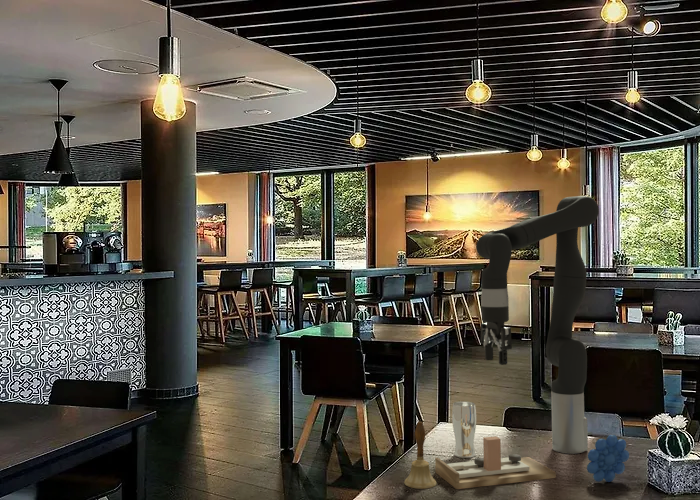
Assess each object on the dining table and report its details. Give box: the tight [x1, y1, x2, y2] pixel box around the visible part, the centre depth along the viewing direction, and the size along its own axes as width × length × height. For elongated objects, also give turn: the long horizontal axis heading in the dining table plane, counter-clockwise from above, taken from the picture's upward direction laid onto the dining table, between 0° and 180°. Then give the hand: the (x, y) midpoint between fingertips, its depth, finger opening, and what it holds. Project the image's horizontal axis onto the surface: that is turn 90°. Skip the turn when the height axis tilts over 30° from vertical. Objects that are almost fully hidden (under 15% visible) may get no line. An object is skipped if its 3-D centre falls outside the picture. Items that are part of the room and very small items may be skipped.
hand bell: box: [403, 420, 437, 490], centre depth 181 cm, size 8×8×16 cm
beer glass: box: [451, 400, 477, 459], centre depth 205 cm, size 7×7×15 cm
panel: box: [446, 435, 530, 478], centre depth 186 cm, size 21×9×9 cm, turn 105°
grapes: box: [586, 434, 630, 483], centre depth 181 cm, size 12×7×12 cm, turn 101°
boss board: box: [434, 453, 557, 490], centre depth 187 cm, size 28×14×4 cm, turn 105°
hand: (496, 362), depth 198 cm, fingers open, 8 cm apart
